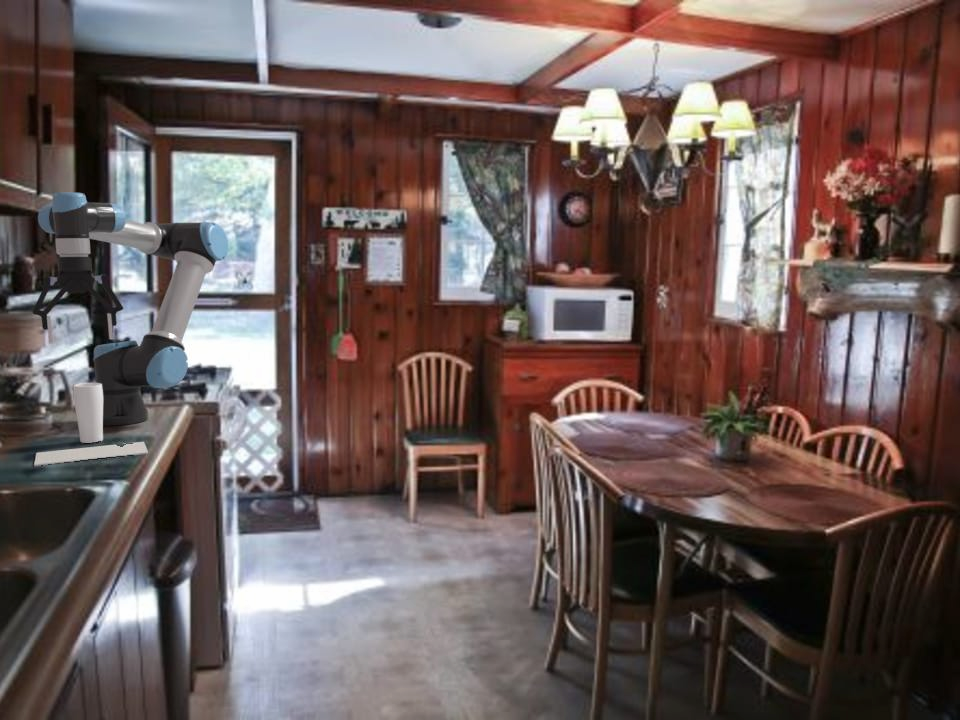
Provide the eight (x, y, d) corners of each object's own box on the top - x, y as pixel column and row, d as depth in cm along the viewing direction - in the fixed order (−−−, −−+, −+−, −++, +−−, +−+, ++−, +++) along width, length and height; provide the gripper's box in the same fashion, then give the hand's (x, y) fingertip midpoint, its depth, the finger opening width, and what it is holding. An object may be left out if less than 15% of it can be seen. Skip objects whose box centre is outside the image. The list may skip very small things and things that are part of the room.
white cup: (104, 443, 201) (100, 385, 199) (75, 446, 198) (70, 387, 197) (107, 438, 207) (103, 382, 205) (79, 440, 205) (74, 383, 203)
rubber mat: (144, 443, 201) (143, 441, 201) (148, 453, 190) (148, 452, 190) (36, 454, 190) (36, 452, 190) (34, 466, 179) (34, 464, 179)
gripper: (127, 254, 205) (134, 336, 208) (16, 256, 193) (25, 342, 196) (129, 255, 198) (136, 338, 201) (15, 257, 187) (24, 345, 190)
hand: (81, 340), depth 199 cm, fingers open, 13 cm apart
